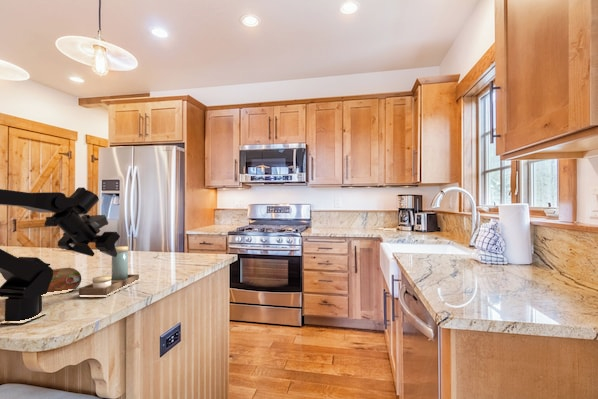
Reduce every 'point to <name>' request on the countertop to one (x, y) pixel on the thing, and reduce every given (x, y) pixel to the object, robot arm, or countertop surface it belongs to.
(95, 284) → the cream lidded jar
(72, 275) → the tin
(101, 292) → the caddy
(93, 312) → the countertop surface
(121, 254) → the tall jar
